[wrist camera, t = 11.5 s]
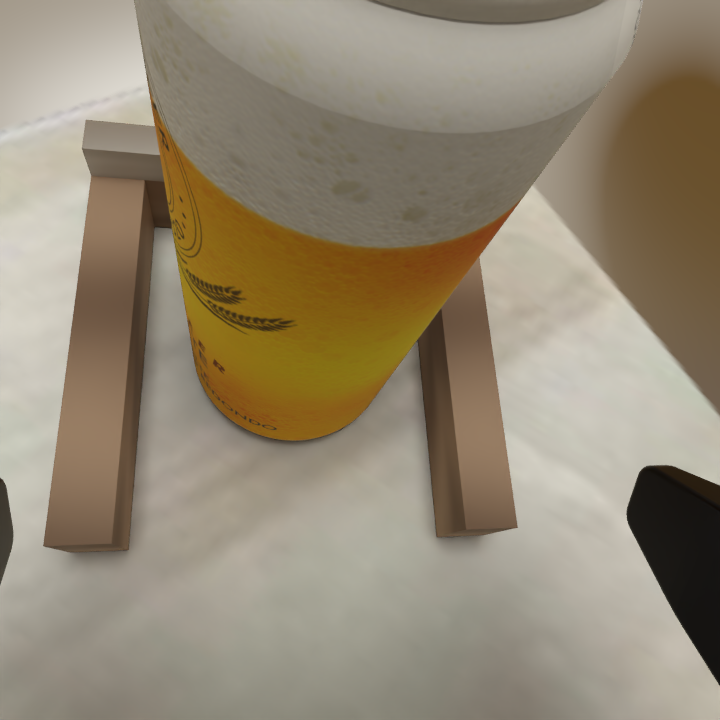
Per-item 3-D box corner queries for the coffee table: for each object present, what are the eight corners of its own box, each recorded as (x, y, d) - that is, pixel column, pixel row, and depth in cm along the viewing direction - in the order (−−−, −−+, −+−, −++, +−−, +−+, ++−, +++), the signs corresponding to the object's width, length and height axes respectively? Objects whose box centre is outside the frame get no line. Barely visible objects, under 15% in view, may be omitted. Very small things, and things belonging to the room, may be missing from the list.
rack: (482, 535, 19) (538, 523, 15) (70, 552, 16) (27, 542, 13) (444, 222, 23) (482, 158, 19) (110, 198, 20) (85, 119, 17)
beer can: (214, 259, 20) (175, -446, 6) (387, 291, 21) (677, -268, 7) (176, 431, 18) (-10, -92, 4) (372, 459, 19) (753, 103, 5)
